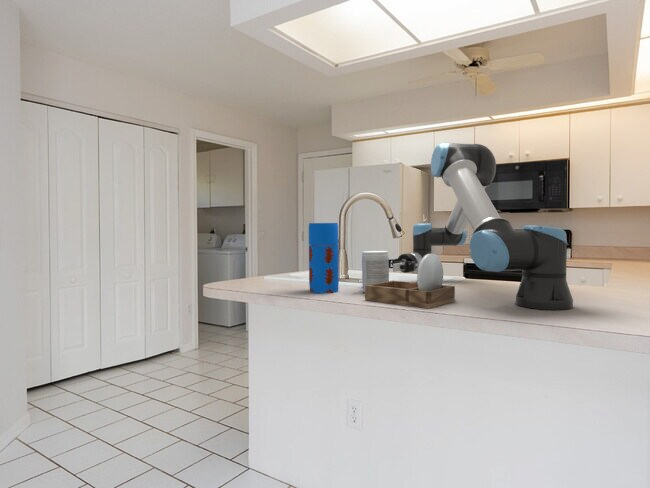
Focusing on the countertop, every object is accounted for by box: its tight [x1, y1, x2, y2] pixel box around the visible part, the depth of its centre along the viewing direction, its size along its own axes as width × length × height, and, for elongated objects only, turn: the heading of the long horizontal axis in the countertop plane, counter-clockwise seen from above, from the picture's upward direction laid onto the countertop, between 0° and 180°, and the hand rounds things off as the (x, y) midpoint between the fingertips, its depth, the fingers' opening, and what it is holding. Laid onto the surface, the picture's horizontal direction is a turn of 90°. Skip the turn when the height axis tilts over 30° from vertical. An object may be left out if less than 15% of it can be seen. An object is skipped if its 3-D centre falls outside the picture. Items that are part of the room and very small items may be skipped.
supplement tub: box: [361, 250, 390, 293], centre depth 161 cm, size 10×10×15 cm
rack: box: [364, 280, 456, 309], centre depth 142 cm, size 23×16×5 cm
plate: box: [416, 253, 444, 291], centre depth 137 cm, size 1×14×14 cm, turn 138°
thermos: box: [308, 222, 340, 294], centre depth 164 cm, size 11×11×25 cm
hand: (378, 266), depth 163 cm, fingers open, 13 cm apart
